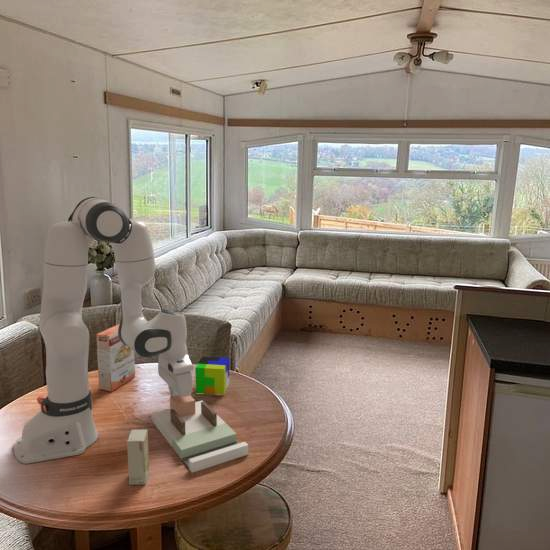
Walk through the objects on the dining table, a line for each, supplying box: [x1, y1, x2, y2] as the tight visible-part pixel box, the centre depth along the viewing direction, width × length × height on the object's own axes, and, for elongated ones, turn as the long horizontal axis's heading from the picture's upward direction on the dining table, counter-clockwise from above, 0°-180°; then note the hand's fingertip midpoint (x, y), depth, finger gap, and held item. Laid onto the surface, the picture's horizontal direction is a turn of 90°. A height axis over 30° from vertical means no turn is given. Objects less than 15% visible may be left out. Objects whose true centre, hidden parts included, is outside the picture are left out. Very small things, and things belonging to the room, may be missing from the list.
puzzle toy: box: [194, 356, 230, 395], centre depth 186 cm, size 10×10×10 cm
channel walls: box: [170, 400, 218, 435], centre depth 156 cm, size 11×9×4 cm
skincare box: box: [126, 429, 150, 486], centre depth 134 cm, size 6×4×12 cm
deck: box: [151, 400, 249, 474], centre depth 155 cm, size 17×31×3 cm, turn 32°
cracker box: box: [96, 323, 136, 393], centre depth 188 cm, size 14×6×21 cm, turn 159°
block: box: [169, 394, 196, 417], centre depth 163 cm, size 6×6×4 cm
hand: (174, 398), depth 169 cm, fingers closed
